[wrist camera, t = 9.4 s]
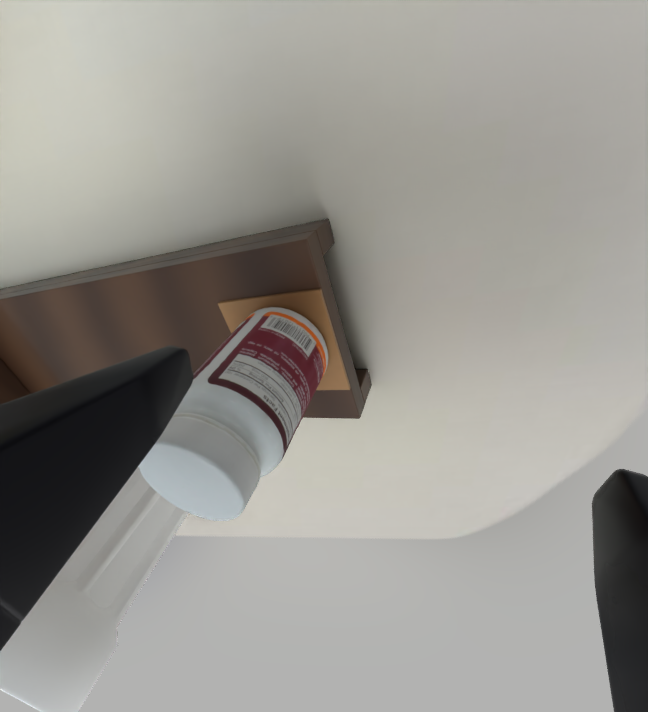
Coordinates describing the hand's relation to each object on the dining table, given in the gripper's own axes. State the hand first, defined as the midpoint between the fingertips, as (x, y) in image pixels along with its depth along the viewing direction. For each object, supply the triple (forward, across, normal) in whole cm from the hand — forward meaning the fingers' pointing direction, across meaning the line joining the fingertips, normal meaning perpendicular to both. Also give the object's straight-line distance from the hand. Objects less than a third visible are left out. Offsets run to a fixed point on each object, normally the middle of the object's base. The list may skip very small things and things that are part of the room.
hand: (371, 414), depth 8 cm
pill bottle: (+8, +6, +6) cm, 11 cm away
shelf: (+11, +17, +10) cm, 22 cm away
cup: (+11, +20, +26) cm, 35 cm away
